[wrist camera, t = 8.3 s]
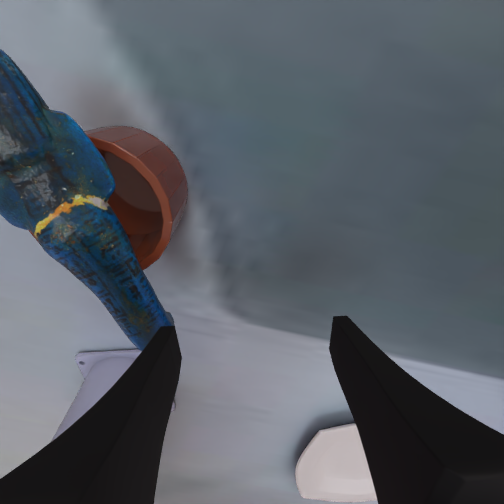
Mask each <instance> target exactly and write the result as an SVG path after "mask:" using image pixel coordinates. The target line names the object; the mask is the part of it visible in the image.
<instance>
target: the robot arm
mask: <svg viewBox="0 0 504 504" xmlns="http://www.w3.org/2000/svg"><path fill="white" fill-rule="evenodd" d="M329 350H330V354H331V358H332V362H333V365H334V369H335V372H336V375H337V377H338V380H339V382H340V385H341V388H342V390H343V393H344V395H345V398H346V400H347V403H348V405H349V408H350V410H351V413H352V415H353V418H354V421H355V423H356V426H357V429H358V432H359V435H360V439H361V442H362V446H363V449H364V452H365V456H366V459H367V463H368V467H369V470H370V474H371V477H372V481H373V485H374V489H375V493H376V496H377V500H378V504H504V435H503V434H501V433H499V432H498V431H496V430H494V429H492V428H490V427H488V426H486V425H485V424H483V423H481V422H479V421H478V420H476V419H474V418H473V417H471V416H469V415H468V414H466V413H464V412H463V411H461V410H459V409H458V408H456V407H455V406H453V405H451V404H450V403H448V402H447V401H445V400H444V399H442V398H441V397H439V396H438V395H436V394H435V393H433V392H432V391H431V390H429V389H428V388H426V387H425V386H424V385H422V384H421V383H420V382H418V381H417V380H416V379H414V378H413V377H412V376H410V375H409V374H408V373H407V372H405V371H404V370H403V369H402V368H401V367H399V366H398V365H397V364H396V363H395V362H394V361H392V360H391V359H390V358H389V357H388V356H387V355H386V354H385V353H384V352H383V351H382V350H381V349H379V348H378V347H377V346H376V345H375V344H374V343H373V342H372V341H371V340H370V339H369V338H368V337H367V336H366V335H365V334H364V333H363V332H362V331H361V330H360V329H359V328H358V327H357V326H356V325H355V324H354V323H353V322H352V320H351V319H350V318H349V317H348V316H333V323H332V331H331V338H330V346H329ZM75 360H76V362H77V364H78V366H79V368H80V371H81V373H82V375H83V377H84V379H85V381H84V383H83V384H82V386H81V388H80V390H79V392H78V393H77V395H76V397H75V399H74V401H73V403H72V404H71V406H70V408H69V410H68V412H67V414H66V415H65V417H64V419H63V421H62V423H61V424H60V426H59V428H58V430H57V432H56V434H55V435H54V437H53V439H52V441H51V443H49V444H48V445H47V446H45V447H44V448H43V449H42V450H40V451H39V452H38V453H36V454H35V455H34V456H32V457H31V458H29V459H28V460H27V461H25V462H24V463H22V464H21V465H20V466H18V467H17V468H15V469H14V470H13V471H11V472H10V473H8V474H7V475H5V476H4V477H3V478H1V479H0V504H154V497H155V490H156V483H157V477H158V470H159V464H160V458H161V452H162V446H163V440H164V436H165V431H166V428H167V424H168V420H169V416H170V412H173V411H174V410H175V403H174V397H175V393H176V389H177V385H178V381H179V374H180V367H181V360H182V356H181V352H180V347H179V343H178V339H177V334H176V330H175V326H161V327H160V328H159V329H158V330H157V332H156V333H155V335H154V336H153V337H152V339H151V340H150V341H149V343H148V344H147V345H146V347H145V348H144V349H143V351H140V350H139V349H137V350H120V351H102V352H85V353H78V354H77V355H76V356H75Z"/></svg>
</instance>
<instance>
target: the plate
mask: <svg viewBox="0 0 504 504" xmlns="http://www.w3.org/2000/svg"><path fill="white" fill-rule="evenodd" d="M295 478H296V484H297V487H298V490H299V492H300V494H301V497H302V498H307V499H315V500H323V501H334V502H364V501H374V500H377V496H376V493H375V489H374V485H373V481H372V477H371V474H370V470H369V467H368V463H367V459H366V456H365V452H364V449H363V446H362V442H361V439H360V435H359V432H358V429H357V426H356V423H351V424H346V425H341V426H336V427H331V428H329V429H324V430H319V431H318V433H317V434H316V435H315V436H314V437H313V439H312V440H311V441H310V443H309V444H308V445H307V447H306V448H305V449H304V451H303V453H302V454H301V456H300V458H299V460H298V462H297V465H296V469H295Z"/></svg>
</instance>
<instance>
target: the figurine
mask: <svg viewBox="0 0 504 504" xmlns="http://www.w3.org/2000/svg"><path fill="white" fill-rule="evenodd" d="M114 189H115V181H114V178H113V175H112V173H111V171H110V169H109V167H108V165H107V163H106V161H105V160H104V158H103V156H102V155H101V153H100V152H99V151H98V149H97V148H96V147H95V145H94V144H93V142H92V141H91V140H90V138H89V137H88V136H87V135H86V134H85V132H84V131H83V130H82V129H81V128H80V126H79V125H78V124H77V123H76V122H75V121H74V120H73V119H72V118H71V117H70V116H69V115H67V114H66V113H63V112H60V111H54V110H50V109H49V107H48V106H47V105H46V103H45V102H44V100H43V99H42V98H41V96H40V94H39V93H38V92H37V91H36V89H35V88H34V87H33V85H32V84H31V83H30V81H29V80H28V79H27V77H26V76H25V75H24V74H23V72H22V71H21V70H20V69H19V67H18V66H17V65H16V64H15V63H14V61H13V60H12V59H11V58H10V57H9V56H8V55H7V54H6V53H5V52H4V51H2V50H1V49H0V214H1V215H2V216H3V217H4V218H5V219H6V220H7V221H8V222H9V223H10V224H12V225H14V226H16V227H19V228H22V229H25V230H30V231H31V232H32V233H33V234H34V236H35V237H36V239H37V240H38V242H39V243H40V244H41V246H42V247H43V249H44V250H45V251H46V252H47V253H48V254H49V255H50V256H51V257H52V258H54V259H55V260H56V261H58V262H59V263H60V264H62V265H63V266H64V267H65V268H67V269H68V270H69V271H70V272H71V273H72V274H73V275H74V276H75V277H76V278H77V279H79V280H80V281H81V282H82V283H84V284H85V285H86V286H87V287H88V288H89V289H90V290H91V291H92V292H93V293H94V294H95V295H96V296H97V297H98V298H99V299H100V300H101V302H102V303H103V304H104V305H105V307H106V308H107V310H108V311H109V313H110V314H111V315H112V316H113V318H114V319H115V321H116V322H117V323H118V325H119V326H120V328H121V329H122V330H123V331H124V333H125V334H126V336H127V337H128V338H129V339H130V340H131V341H132V343H133V344H134V345H135V346H136V347H137V348H138V349H139V350H140V351H143V349H144V348H145V347H146V345H147V344H148V343H149V341H150V340H151V339H152V337H153V336H154V335H155V333H156V332H157V330H158V329H159V328H160V327H161V326H174V319H173V317H172V315H171V313H169V312H166V311H165V310H164V308H163V306H162V305H161V303H160V302H159V300H158V298H157V296H156V294H155V292H154V289H153V288H152V286H151V284H150V282H149V280H148V279H147V277H146V275H145V274H144V272H143V270H142V268H141V266H140V264H139V262H138V260H137V258H136V255H135V253H134V250H133V248H132V245H131V243H130V240H129V238H128V236H127V234H126V232H125V230H124V228H123V226H122V224H121V223H120V221H119V219H118V218H117V216H116V214H115V213H114V211H113V209H112V208H111V206H110V205H109V204H108V203H107V202H108V200H109V197H110V196H111V195H112V193H113V192H114Z"/></svg>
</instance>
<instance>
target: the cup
mask: <svg viewBox="0 0 504 504" xmlns="http://www.w3.org/2000/svg"><path fill="white" fill-rule="evenodd" d="M84 132H85V134H86V135H87V136H88V137H89V138H90V140H91V141H92V142H93V144H94V145H95V147H96V148H97V149H98V151H99V152H100V153H101V155H102V156H103V158H104V160H105V161H106V163H107V165H108V167H109V169H110V171H111V173H112V175H113V178H114V181H115V189H114V192H113V193H112V195H111V196H110V197H109V200H108V202H107V203H108V204H109V205H110V206H111V208H112V209H113V211H114V213H115V214H116V216H117V218H118V219H119V221H120V223H121V224H122V226H123V228H124V230H125V232H126V234H127V236H128V238H129V240H130V243H131V245H132V248H133V250H134V253H135V255H136V258H137V260H138V262H139V264H140V266H141V268H142V270H144V269H146V268H147V267H149V266H150V265H151V264H153V263H154V262H155V261H156V260H158V259H159V258H160V257H161V255H162V254H163V252H164V250H165V248H166V247H167V245H168V243H169V242H170V240H171V237H172V235H173V233H174V231H175V229H176V227H177V225H178V223H179V221H180V219H181V217H182V215H183V213H184V210H185V206H186V203H187V196H188V188H187V181H186V177H185V174H184V171H183V168H182V166H181V164H180V162H179V161H178V159H177V158H176V156H175V155H174V154H173V152H172V151H171V150H170V149H169V148H168V147H167V146H166V145H165V144H164V143H163V142H161V141H160V140H159V139H157V138H156V137H154V136H153V135H151V134H149V133H147V132H145V131H142V130H140V129H136V128H133V127H127V126H110V127H101V128H96V129H92V130H87V131H84ZM29 232H30V233H31V234H32V235H33V236H34V234H33V233H32V232H31V231H30V230H29ZM34 238H35V239H36V237H35V236H34ZM36 240H37V239H36ZM37 241H38V240H37ZM39 244H40V243H39ZM40 245H41V244H40Z"/></svg>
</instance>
